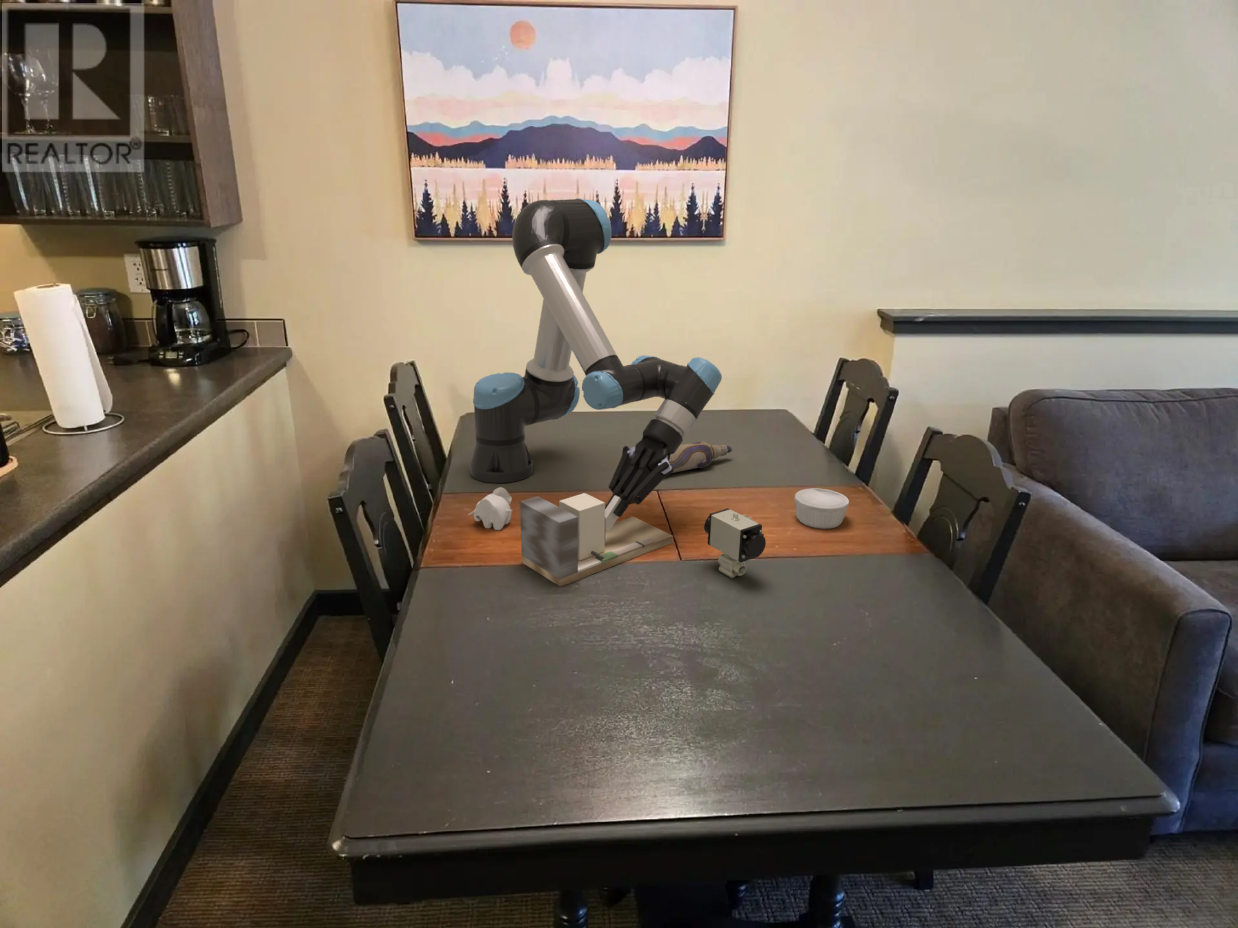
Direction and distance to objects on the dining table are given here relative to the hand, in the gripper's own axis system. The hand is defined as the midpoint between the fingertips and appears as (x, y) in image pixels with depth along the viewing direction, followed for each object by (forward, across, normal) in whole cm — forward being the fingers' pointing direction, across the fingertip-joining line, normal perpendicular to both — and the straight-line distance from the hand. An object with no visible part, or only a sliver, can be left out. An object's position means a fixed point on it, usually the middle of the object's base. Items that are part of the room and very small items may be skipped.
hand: (602, 527), depth 155 cm
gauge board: (+4, 0, -3) cm, 5 cm away
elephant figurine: (+11, +24, +3) cm, 26 cm away
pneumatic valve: (-6, -22, -13) cm, 26 cm away
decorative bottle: (-28, +21, -35) cm, 50 cm away
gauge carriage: (+6, -1, +2) cm, 7 cm away
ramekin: (-28, -18, -36) cm, 49 cm away
